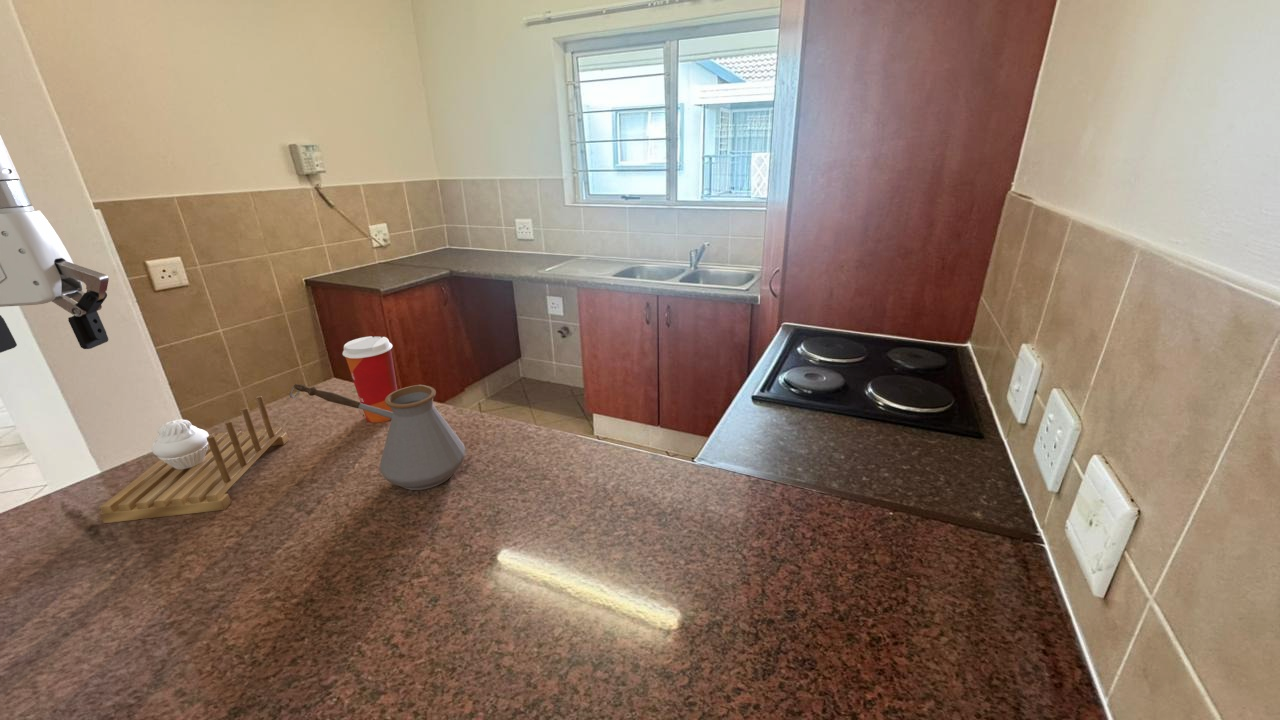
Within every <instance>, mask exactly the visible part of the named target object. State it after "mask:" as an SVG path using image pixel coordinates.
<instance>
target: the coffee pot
mask: <svg viewBox="0 0 1280 720" xmlns="http://www.w3.org/2000/svg"><path fill="white" fill-rule="evenodd" d="M295 390H297V392H296V394H295V395H294V396H292V395H293V392H294V391H295ZM300 392H302V393H303V392H304V393H306V394H308V396H311V397H312V396H316V397H319V398H320V399H323V400H325V401H327V402H330V403H333V404H338V405H342V406H346V407H349V408H353V409H354V408H355V409H358V410H359V409H360V410H362V411H363V410H366V411H369V412H372V413H375V414H378V415H381V416H384V417H387V418H390V419H391V420H390V423H389V427H388V430H387V434H386V440H385V443H384V447H383V450H382V455H381V458H380V462H379V471H380V473H381V475H382V477H383V478H384V479H385V480H386V481H387V482H389V483H390V484H392V485H394V486H397V487H401V488H404V489H406V490H409V491H420V490H427V489H431V488H435V487H437V486H439V485H441V484H443V483H445V482H447V481H448V480H449V479H451V477H452V476H453V475H454V474H455V473H456V472H457V471H458V469H459V468H460V467H461V465H462V464H463V462H464V460H465V455H466V451H467V450H466V446H465V444H464V442H463V441H462V440H461V439H460V437H459V435H457V433H456V432H455V431H454V429H452V427H451V426H450V425H449V423H448V422H447V420H446V419H445V418H444V416H442V414H441V413H440V412H439V410H438V409H437V408H436V406H435V405H434V398H435V397H436V394H437V391H436V389H435V388H434V387H433V386H430V385H425V384H415V385H409V386H406V387H403V388H399V389H397V390H396V391H394V392H392V393H390V394H389V395H388V396H387V397H386V398H385V403H386V404H387V406H389V407H391V409H392V411H393V412H391V411H387V410H383V409H380V408H376V407H373V406H369V405H365V404H362V403H360V401H357V400H356V399H355V400H354V399H352V398H349V397H346V396H343V395H341V394H338V393H335V392H332V391H326V390H320V389H317V387H315V386H312V387H308V386H306V385H304V384H297V383H294V385H293V388H292V389H291V391H290V393H289V398H291V399H295V398H296V397H297V396H299V394H300Z"/></svg>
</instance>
